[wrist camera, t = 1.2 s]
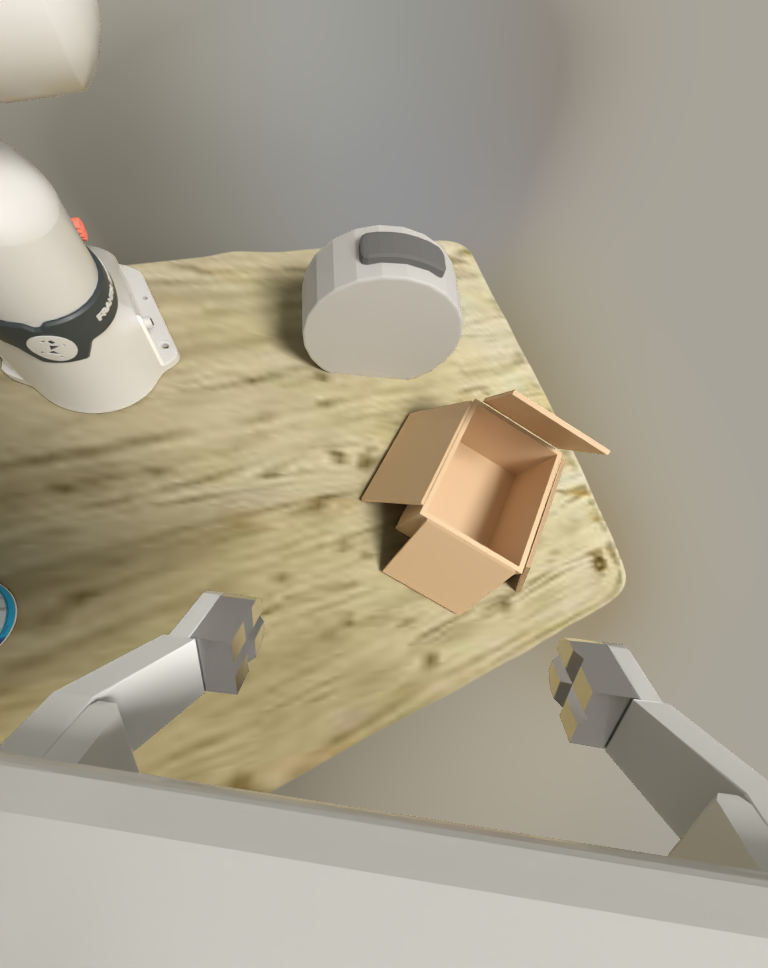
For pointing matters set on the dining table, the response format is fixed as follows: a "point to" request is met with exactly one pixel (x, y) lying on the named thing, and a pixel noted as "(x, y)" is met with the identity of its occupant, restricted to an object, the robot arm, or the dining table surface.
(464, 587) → the carton
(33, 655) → the dining table surface
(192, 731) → the dining table surface
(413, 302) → the alarm clock
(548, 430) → the flap
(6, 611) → the beverage bottle
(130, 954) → the robot arm
